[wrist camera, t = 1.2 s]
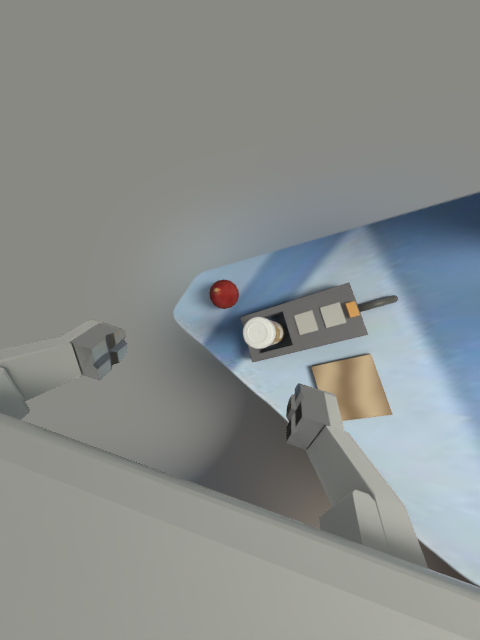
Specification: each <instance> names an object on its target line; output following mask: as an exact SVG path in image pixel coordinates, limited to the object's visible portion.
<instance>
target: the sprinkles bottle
mask: <svg viewBox="0 0 480 640" xmlns="http://www.w3.org/2000/svg"><path fill="white" fill-rule="evenodd" d="M243 337H244V340H245V342H246V343H247V344H248V345H249V346H250V347H252V348H255V349H262V348H266V347H268V346H270V345H273V344H277V343H279V342H281V341H282V340H283V339H284V337H285V328H284V327H283V325H282V324H281V323H279V322H275V321H271V320H268V319H266V318H263V317H254V318H252V319H250V320H248V321H247V322H246V324H245V326H244V328H243Z"/></svg>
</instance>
